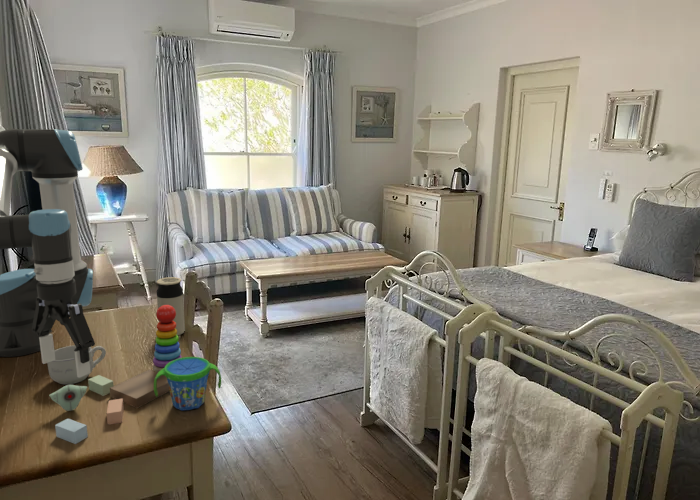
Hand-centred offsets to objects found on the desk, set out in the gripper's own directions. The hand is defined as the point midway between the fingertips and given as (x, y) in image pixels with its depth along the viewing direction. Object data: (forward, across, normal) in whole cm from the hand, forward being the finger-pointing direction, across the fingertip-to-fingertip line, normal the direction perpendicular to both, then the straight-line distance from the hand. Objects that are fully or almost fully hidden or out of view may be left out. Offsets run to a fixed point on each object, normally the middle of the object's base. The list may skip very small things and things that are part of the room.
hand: (66, 368), depth 118 cm
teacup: (+11, -14, +11) cm, 21 cm away
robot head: (+11, 0, 0) cm, 11 cm away
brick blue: (+12, +10, -6) cm, 16 cm away
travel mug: (+11, -18, +46) cm, 51 cm away
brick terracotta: (+12, +10, +4) cm, 16 cm away
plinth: (+11, +7, +15) cm, 20 cm away
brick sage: (+11, -3, +10) cm, 16 cm away
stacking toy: (+11, +2, +27) cm, 30 cm away
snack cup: (+12, +21, +17) cm, 29 cm away
